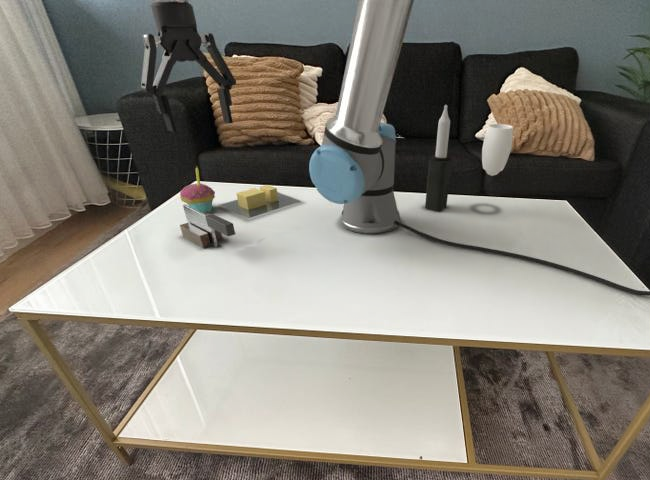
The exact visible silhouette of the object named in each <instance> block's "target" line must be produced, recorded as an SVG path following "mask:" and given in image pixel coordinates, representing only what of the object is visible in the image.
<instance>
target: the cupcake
mask: <svg viewBox="0 0 650 480" xmlns="http://www.w3.org/2000/svg"><path fill="white" fill-rule="evenodd" d="M195 175H196V183H193V184H192V183H191V184H188V185H185V186H183V188H182V189H180V193H179V198H180V201H181V202H183V203H184V204H185V203H186V205H187V206H190V207H192V208H194V209H196V210H198V211H200V212H202V213H204V214H206V213H209V212H211V211H212V210H213V200H214V199H215V198H216V196H215V194H216V191H215V190H213V188H212V187H210V186H209V185H206V184H203V183H201V179H200V172H199V167H195Z"/></svg>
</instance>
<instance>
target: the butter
mask: <svg viewBox="0 0 650 480" xmlns="http://www.w3.org/2000/svg"><path fill="white" fill-rule="evenodd" d="M235 193H236V200H238V204H239V206H240V207H242V208H245V209H247V210H251V209H254V208H257V207H261V206H264V205H267V203H266V197H265V192H264V191H261V190H260V188H259V189H258V188H256V187H253V188H249V189H246V190H242V191H239V192H235Z"/></svg>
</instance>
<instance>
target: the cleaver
mask: <svg viewBox="0 0 650 480" xmlns="http://www.w3.org/2000/svg"><path fill="white" fill-rule="evenodd" d="M182 208H183V211H184V214H185V218H186V220H187V223H189V224H191V225H193V226H195V227H197V228H199V229H200V230H202V231H204V232H206V233H208V236H209V239H210V243H211V246H213V247H215V248H217V247H219V244H218V241H217V240H216V236H215V232H214V230H216V231H218V232H220V233H221V234H222V235H224V236H226V237H231V236H234V235H236V231H235V226H234V223H233V222H231V221H229V220H226V219H225V218H223V217H220V216H218V215H216V214H215V213H210V214H206V213H202V212H200V211H198V210H196V209H194V208H192V207H190V206H188V204H185V203H184V204H182Z"/></svg>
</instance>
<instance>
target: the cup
mask: <svg viewBox="0 0 650 480" xmlns="http://www.w3.org/2000/svg"><path fill="white" fill-rule="evenodd" d="M513 136H514V126H513V125H510V124H505V123H491V124H488V125H487V128H486V131H485V134H484V137H483V143H482V148H481V164H482V169H483V170H484V171H485V172H486V174H487V175H488V176H490V177H493V176H497V175H498V174H500V172H502V171H503V170H504V169H505V167H506V165H507V163H508V160H509V158H510V154H511V151H512V145H513V139H514V138H513Z"/></svg>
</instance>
